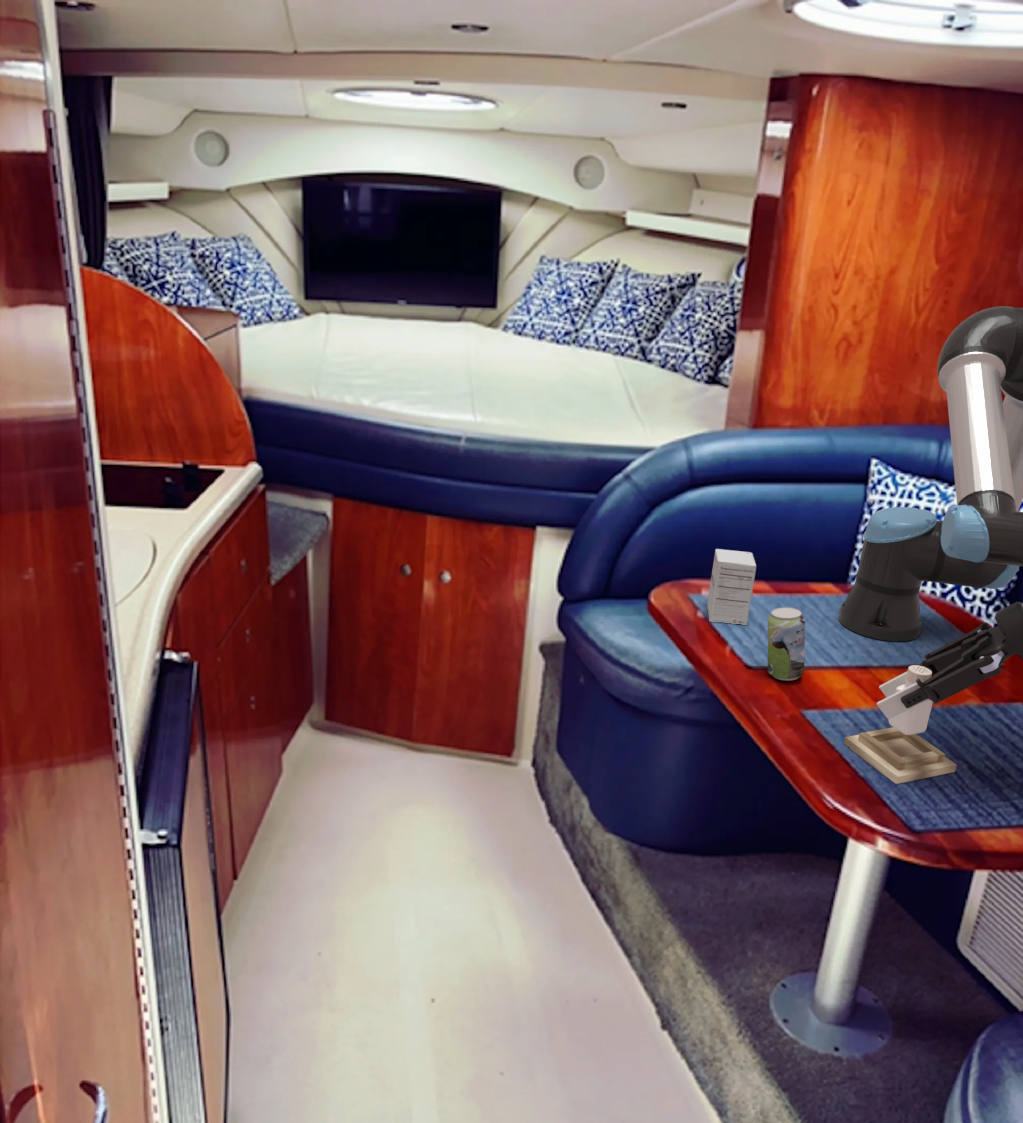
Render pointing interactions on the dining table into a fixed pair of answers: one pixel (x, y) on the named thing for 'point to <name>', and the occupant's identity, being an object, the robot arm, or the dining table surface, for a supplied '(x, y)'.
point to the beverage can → (786, 644)
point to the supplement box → (731, 586)
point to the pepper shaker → (918, 715)
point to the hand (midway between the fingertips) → (884, 702)
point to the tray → (900, 755)
